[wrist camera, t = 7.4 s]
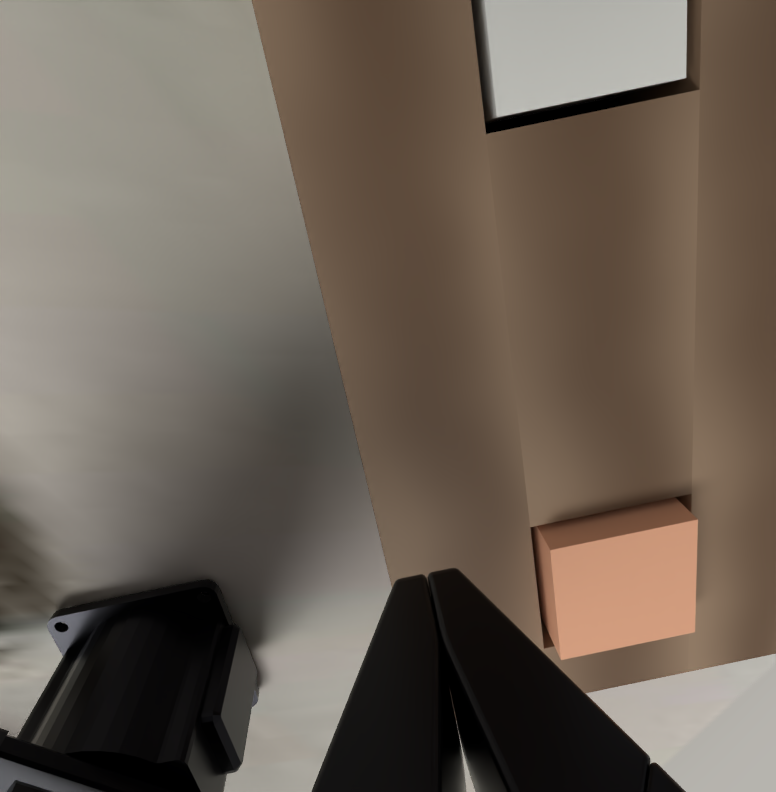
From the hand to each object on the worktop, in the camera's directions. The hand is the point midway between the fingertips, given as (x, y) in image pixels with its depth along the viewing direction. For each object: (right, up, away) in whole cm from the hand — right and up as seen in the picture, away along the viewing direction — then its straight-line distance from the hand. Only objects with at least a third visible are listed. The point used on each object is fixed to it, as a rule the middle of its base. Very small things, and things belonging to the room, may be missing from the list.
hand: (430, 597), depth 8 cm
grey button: (+3, +13, +8) cm, 15 cm away
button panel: (+5, +6, +11) cm, 13 cm away
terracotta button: (+6, -2, +13) cm, 15 cm away
